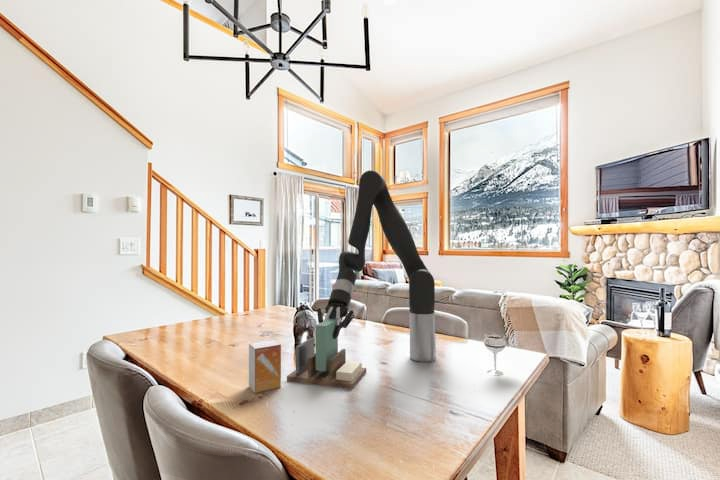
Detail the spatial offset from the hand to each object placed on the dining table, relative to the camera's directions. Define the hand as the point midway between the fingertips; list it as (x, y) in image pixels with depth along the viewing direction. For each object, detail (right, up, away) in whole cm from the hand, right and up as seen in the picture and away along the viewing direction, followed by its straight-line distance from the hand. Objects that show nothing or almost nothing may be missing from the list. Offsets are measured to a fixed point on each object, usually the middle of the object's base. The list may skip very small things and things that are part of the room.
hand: (328, 336), depth 112 cm
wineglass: (+55, -12, +1) cm, 57 cm away
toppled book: (+7, -11, -3) cm, 14 cm away
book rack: (0, -13, -1) cm, 13 cm away
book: (0, -9, -1) cm, 9 cm away
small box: (-18, -13, -9) cm, 24 cm away
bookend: (-8, -11, +1) cm, 14 cm away
